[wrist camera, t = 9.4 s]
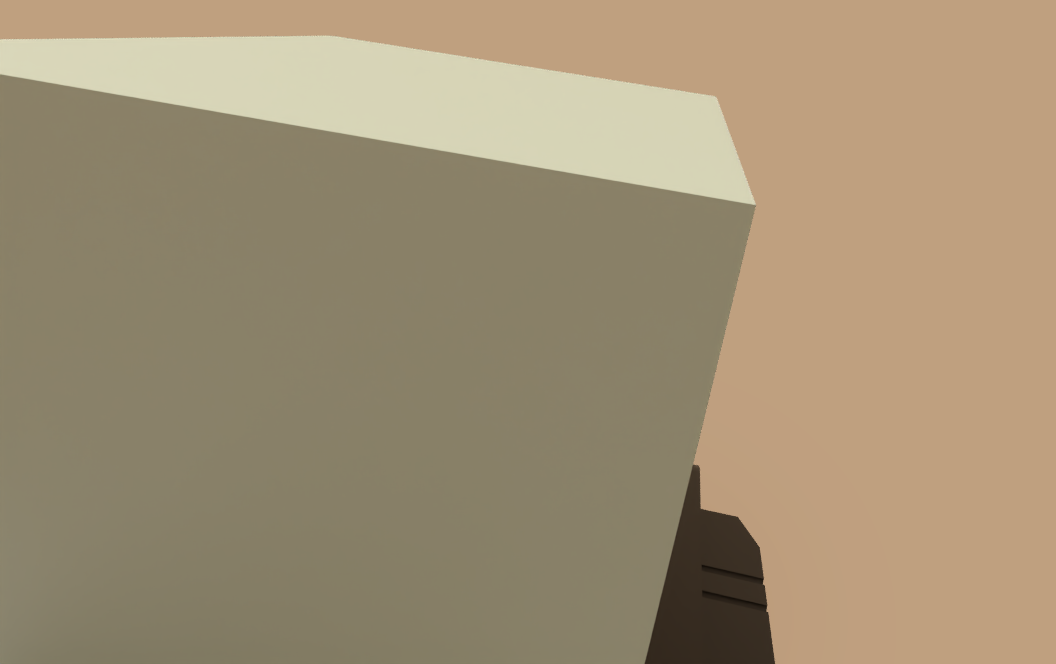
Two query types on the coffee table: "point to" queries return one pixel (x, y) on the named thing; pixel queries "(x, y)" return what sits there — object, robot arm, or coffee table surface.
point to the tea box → (348, 351)
